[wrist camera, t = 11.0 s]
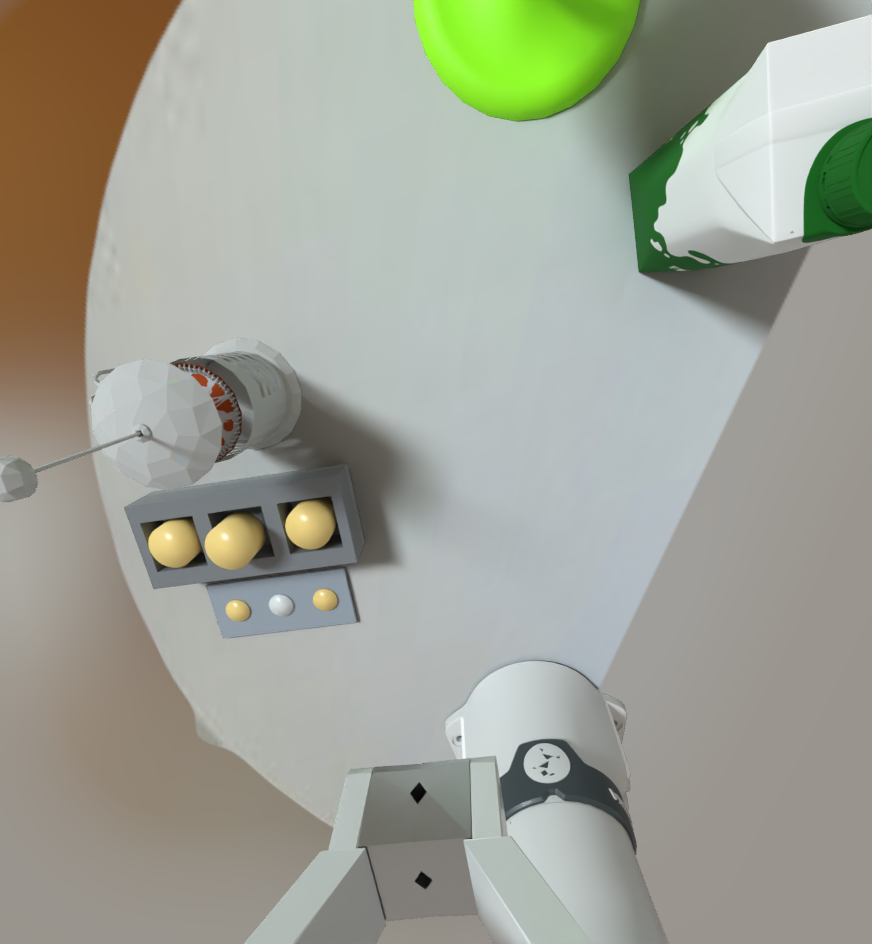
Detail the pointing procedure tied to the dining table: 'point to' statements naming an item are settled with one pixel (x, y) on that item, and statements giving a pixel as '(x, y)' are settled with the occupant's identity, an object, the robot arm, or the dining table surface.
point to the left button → (175, 542)
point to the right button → (311, 523)
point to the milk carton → (766, 159)
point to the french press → (181, 416)
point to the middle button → (235, 540)
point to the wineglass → (523, 50)
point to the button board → (262, 550)
